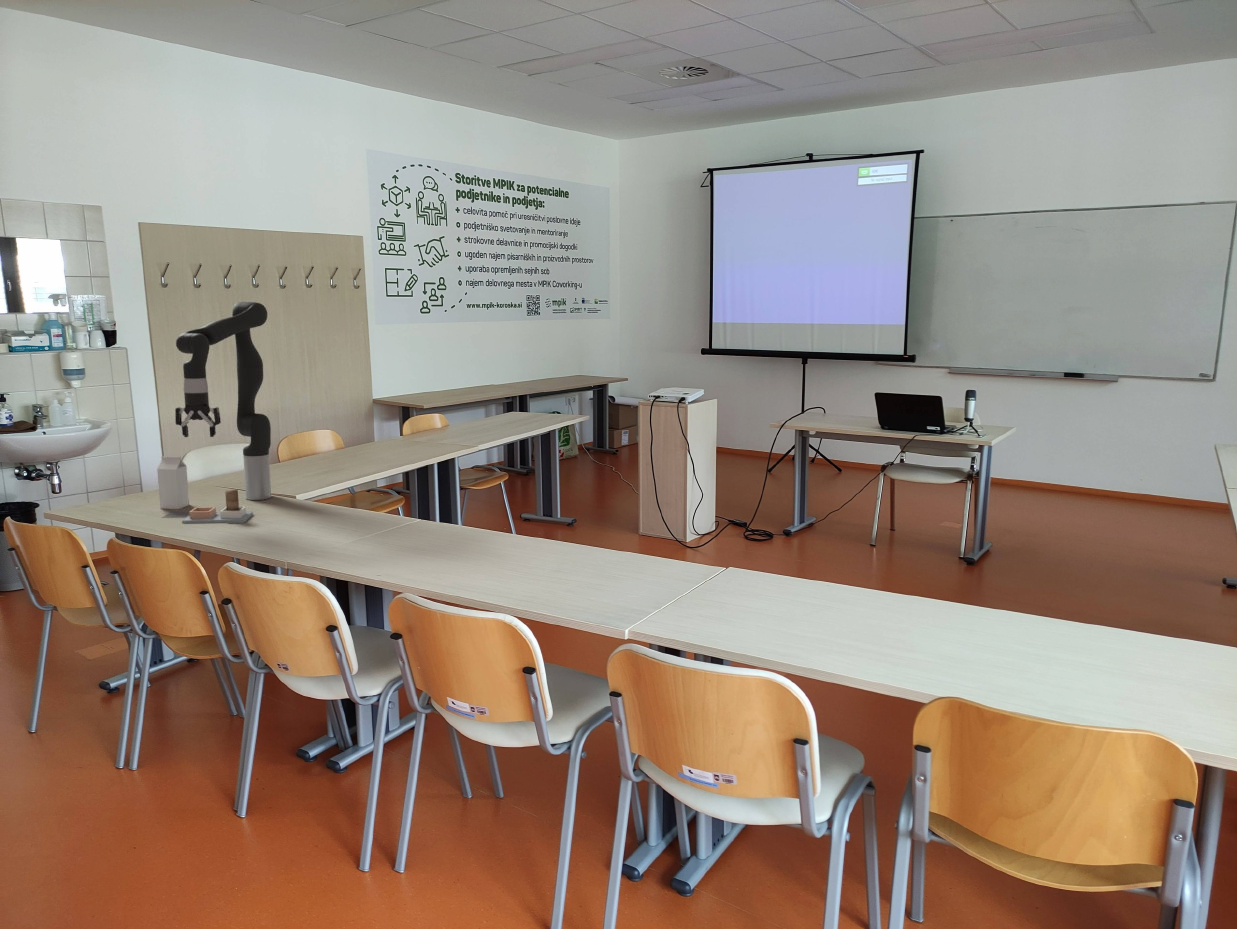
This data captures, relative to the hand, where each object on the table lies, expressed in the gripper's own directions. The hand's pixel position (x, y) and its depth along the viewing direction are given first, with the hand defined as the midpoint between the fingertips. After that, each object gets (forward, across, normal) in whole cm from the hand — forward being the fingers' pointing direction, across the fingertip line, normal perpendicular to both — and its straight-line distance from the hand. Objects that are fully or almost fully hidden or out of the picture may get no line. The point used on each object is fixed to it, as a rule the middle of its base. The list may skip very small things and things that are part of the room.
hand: (199, 436), depth 300 cm
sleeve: (+27, -12, +8) cm, 31 cm away
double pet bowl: (+28, -7, +8) cm, 30 cm away
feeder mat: (+28, +8, +1) cm, 29 cm away
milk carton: (+28, +14, -12) cm, 34 cm away
